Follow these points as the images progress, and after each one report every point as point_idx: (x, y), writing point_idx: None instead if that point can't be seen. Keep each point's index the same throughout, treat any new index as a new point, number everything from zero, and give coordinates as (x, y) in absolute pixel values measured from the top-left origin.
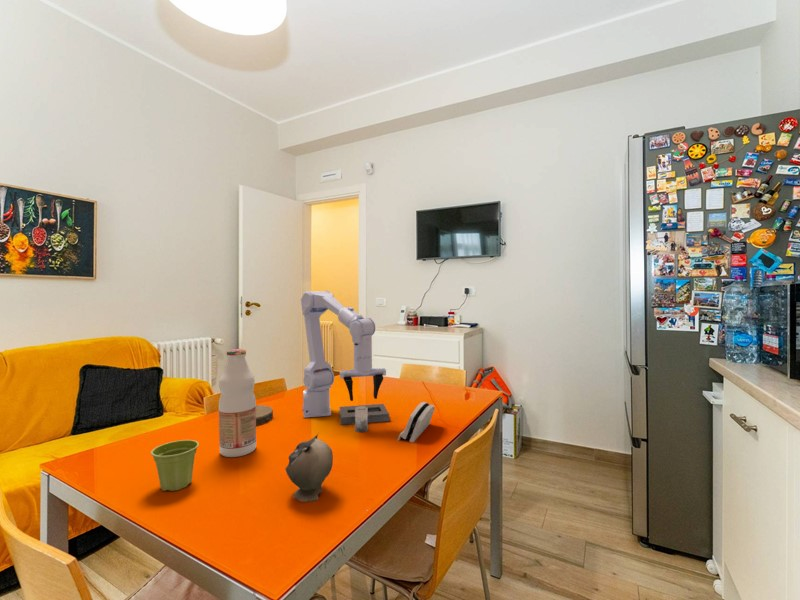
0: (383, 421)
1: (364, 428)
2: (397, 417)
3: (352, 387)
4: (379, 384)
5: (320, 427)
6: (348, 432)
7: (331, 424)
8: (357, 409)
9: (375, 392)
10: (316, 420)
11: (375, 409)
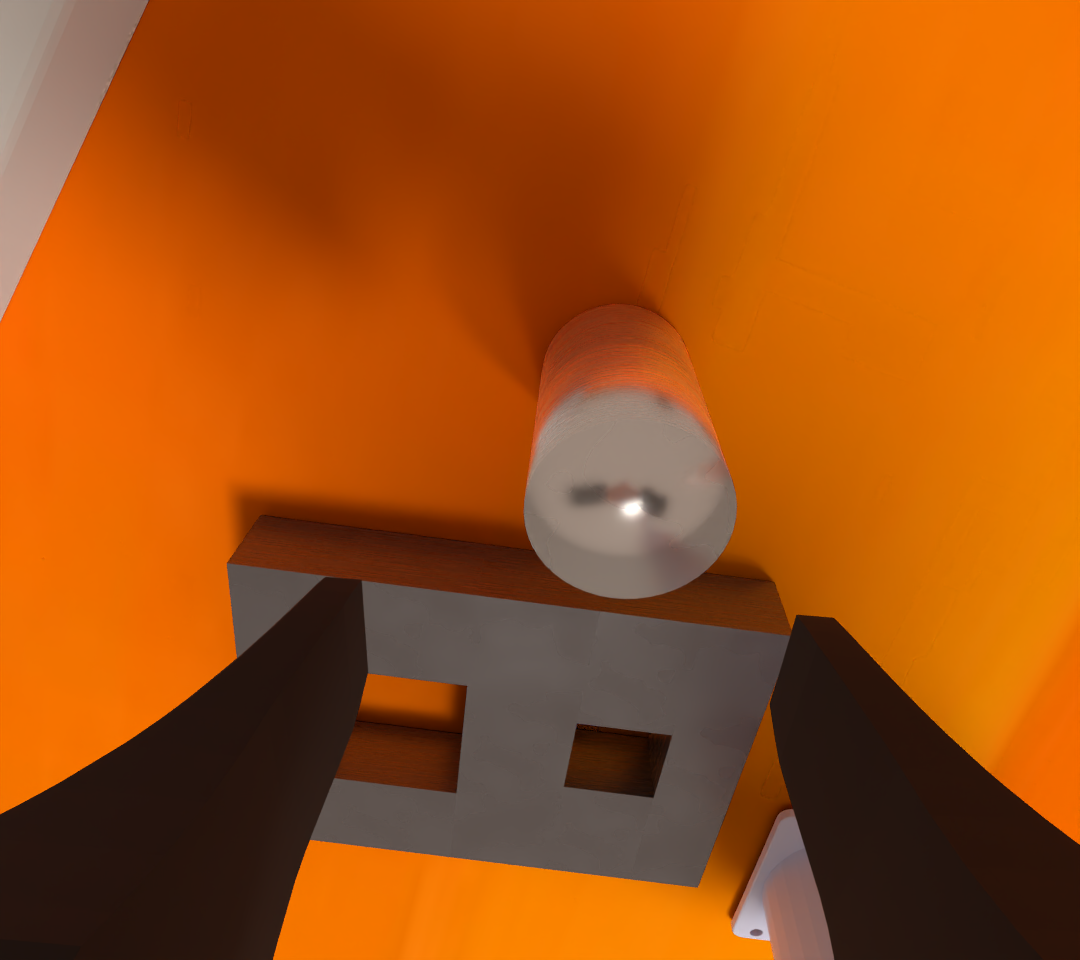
0: (323, 524)
1: (599, 317)
2: (161, 584)
3: (942, 831)
4: (98, 780)
5: (992, 594)
6: (778, 359)
7: (856, 630)
8: (709, 472)
9: (307, 653)
10: None
11: (357, 760)
